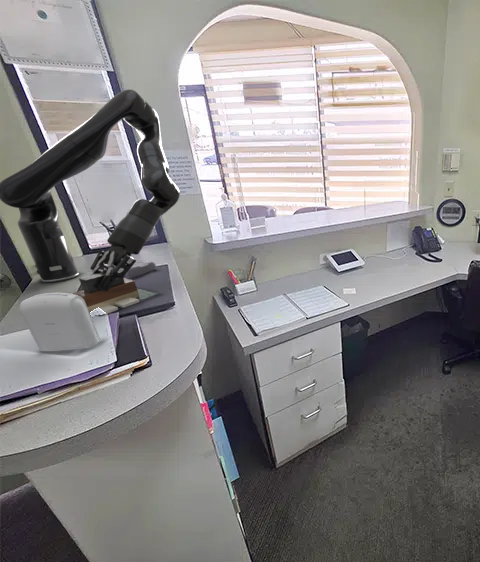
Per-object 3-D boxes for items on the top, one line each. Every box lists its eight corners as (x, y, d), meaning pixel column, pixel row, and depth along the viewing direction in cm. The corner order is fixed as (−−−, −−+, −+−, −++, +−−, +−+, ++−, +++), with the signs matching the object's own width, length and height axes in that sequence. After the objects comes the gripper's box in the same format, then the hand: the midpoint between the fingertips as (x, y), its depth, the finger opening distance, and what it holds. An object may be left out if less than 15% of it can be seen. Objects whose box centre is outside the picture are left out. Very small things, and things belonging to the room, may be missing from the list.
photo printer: (36, 354, 63) (9, 299, 59) (54, 343, 67) (30, 291, 63) (90, 351, 64) (67, 296, 60) (104, 340, 68) (84, 288, 64)
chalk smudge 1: (92, 313, 79) (91, 310, 79) (110, 307, 82) (109, 304, 82) (100, 316, 78) (99, 313, 77) (118, 309, 81) (117, 307, 81)
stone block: (107, 284, 105) (129, 280, 102) (101, 271, 104) (123, 266, 101) (139, 274, 116) (160, 270, 113) (134, 261, 115) (154, 257, 112)
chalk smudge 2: (115, 305, 84) (114, 302, 83) (131, 299, 87) (130, 297, 87) (123, 307, 82) (122, 305, 82) (139, 302, 85) (138, 299, 85)
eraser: (79, 310, 81) (67, 280, 77) (129, 293, 91) (120, 266, 88) (89, 314, 79) (77, 283, 76) (139, 296, 89) (130, 268, 86)
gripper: (159, 243, 87) (125, 298, 81) (130, 239, 93) (96, 290, 87) (133, 228, 81) (95, 286, 75) (103, 224, 87) (65, 278, 81)
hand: (96, 288), depth 81 cm, fingers closed on eraser, 5 cm apart
